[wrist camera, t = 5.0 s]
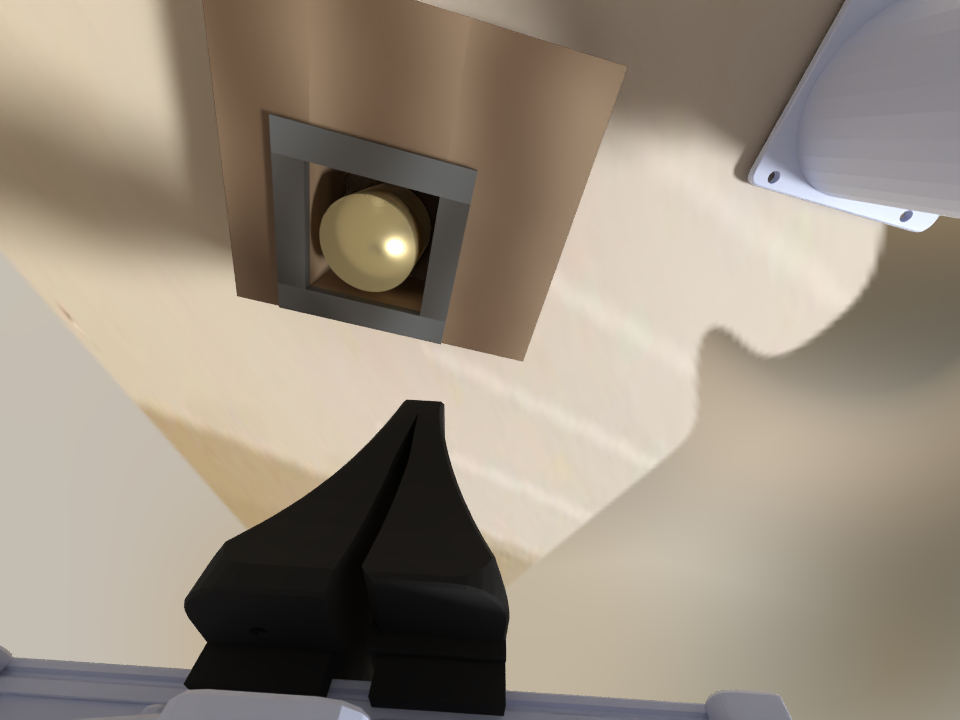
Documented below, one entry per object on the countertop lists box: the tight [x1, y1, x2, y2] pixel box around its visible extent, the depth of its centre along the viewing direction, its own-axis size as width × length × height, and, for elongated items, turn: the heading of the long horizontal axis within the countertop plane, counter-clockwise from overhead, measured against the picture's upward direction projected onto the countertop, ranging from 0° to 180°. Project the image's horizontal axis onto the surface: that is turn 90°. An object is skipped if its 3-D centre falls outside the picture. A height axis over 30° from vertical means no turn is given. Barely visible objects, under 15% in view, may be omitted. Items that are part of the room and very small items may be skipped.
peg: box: [319, 183, 431, 292], centre depth 17 cm, size 4×4×4 cm
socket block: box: [203, 0, 628, 361], centre depth 16 cm, size 14×12×4 cm
